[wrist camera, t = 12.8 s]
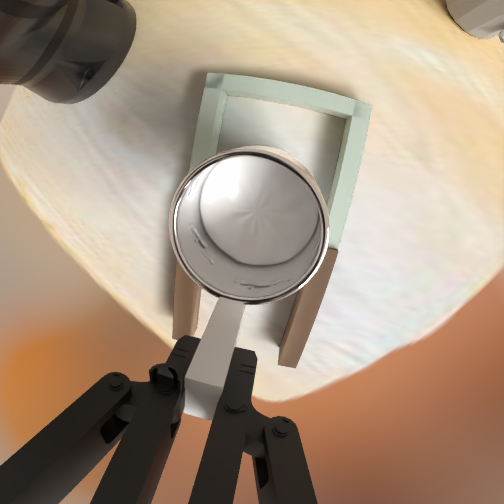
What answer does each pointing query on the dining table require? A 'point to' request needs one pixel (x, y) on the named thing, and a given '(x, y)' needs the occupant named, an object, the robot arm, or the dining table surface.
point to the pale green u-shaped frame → (299, 97)
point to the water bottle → (479, 17)
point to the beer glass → (250, 225)
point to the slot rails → (297, 324)
